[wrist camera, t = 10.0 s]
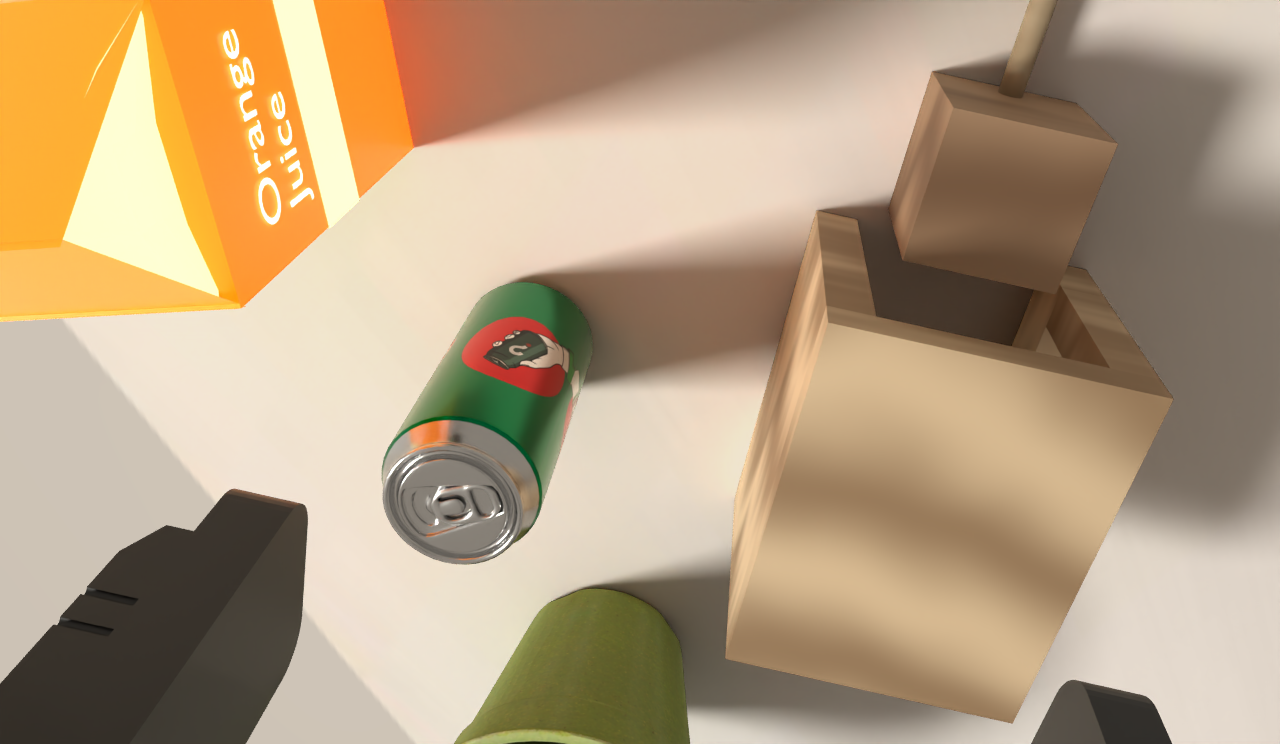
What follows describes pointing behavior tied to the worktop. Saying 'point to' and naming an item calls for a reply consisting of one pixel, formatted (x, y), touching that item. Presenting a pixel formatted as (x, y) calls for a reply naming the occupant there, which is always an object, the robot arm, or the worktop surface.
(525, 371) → the soda can
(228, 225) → the orange juice
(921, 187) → the tethered block
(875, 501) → the box
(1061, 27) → the worktop surface
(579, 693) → the plant pot
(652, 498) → the worktop surface
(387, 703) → the worktop surface
